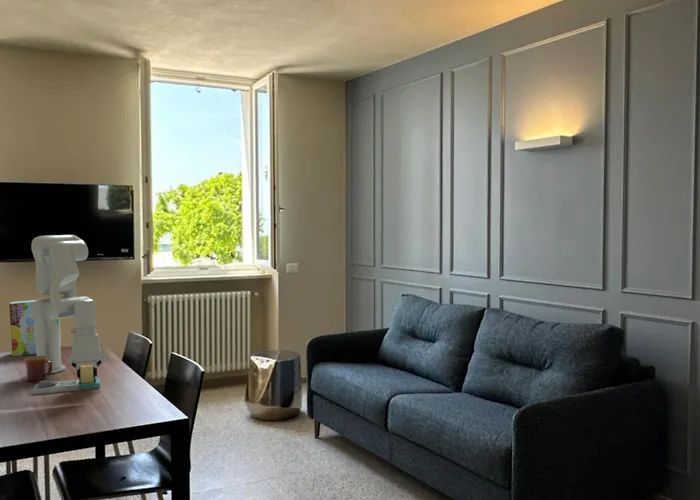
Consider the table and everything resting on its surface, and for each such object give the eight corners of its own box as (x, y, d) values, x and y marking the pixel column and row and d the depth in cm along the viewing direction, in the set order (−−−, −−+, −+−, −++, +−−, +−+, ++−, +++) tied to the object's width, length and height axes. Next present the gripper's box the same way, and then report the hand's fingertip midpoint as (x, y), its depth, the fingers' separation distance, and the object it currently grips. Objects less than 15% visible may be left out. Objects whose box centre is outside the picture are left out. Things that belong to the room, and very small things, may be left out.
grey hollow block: (39, 392, 245) (38, 383, 244) (40, 389, 249) (39, 380, 249) (52, 391, 246) (51, 382, 246) (53, 388, 250) (52, 379, 250)
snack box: (61, 348, 330) (58, 298, 329) (61, 352, 322) (58, 300, 321) (12, 353, 322) (10, 301, 320) (11, 356, 314) (8, 303, 312)
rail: (33, 397, 242) (32, 389, 242) (35, 392, 250) (35, 383, 250) (100, 391, 250) (99, 382, 250) (100, 385, 258) (100, 377, 258)
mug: (19, 385, 261) (18, 359, 260) (37, 379, 269) (35, 355, 268) (43, 387, 257) (42, 361, 256) (60, 381, 265) (59, 356, 264)
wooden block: (80, 387, 249) (80, 367, 249) (81, 384, 254) (80, 365, 253) (93, 386, 251) (92, 366, 251) (94, 383, 255) (93, 364, 255)
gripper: (60, 334, 245) (62, 383, 246) (108, 331, 250) (110, 378, 251) (62, 331, 252) (64, 378, 253) (109, 328, 257) (110, 374, 258)
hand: (87, 378), depth 252 cm, fingers closed on wooden block, 4 cm apart
